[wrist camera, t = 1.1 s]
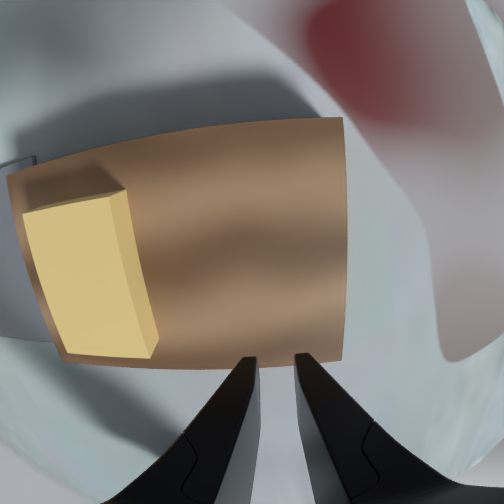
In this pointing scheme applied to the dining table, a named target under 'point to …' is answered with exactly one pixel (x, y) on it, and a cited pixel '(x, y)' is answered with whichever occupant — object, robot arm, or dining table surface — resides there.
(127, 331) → the yellow rectangular block
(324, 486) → the robot arm
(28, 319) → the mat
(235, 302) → the brown wooden flat block
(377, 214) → the dining table surface
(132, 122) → the dining table surface
